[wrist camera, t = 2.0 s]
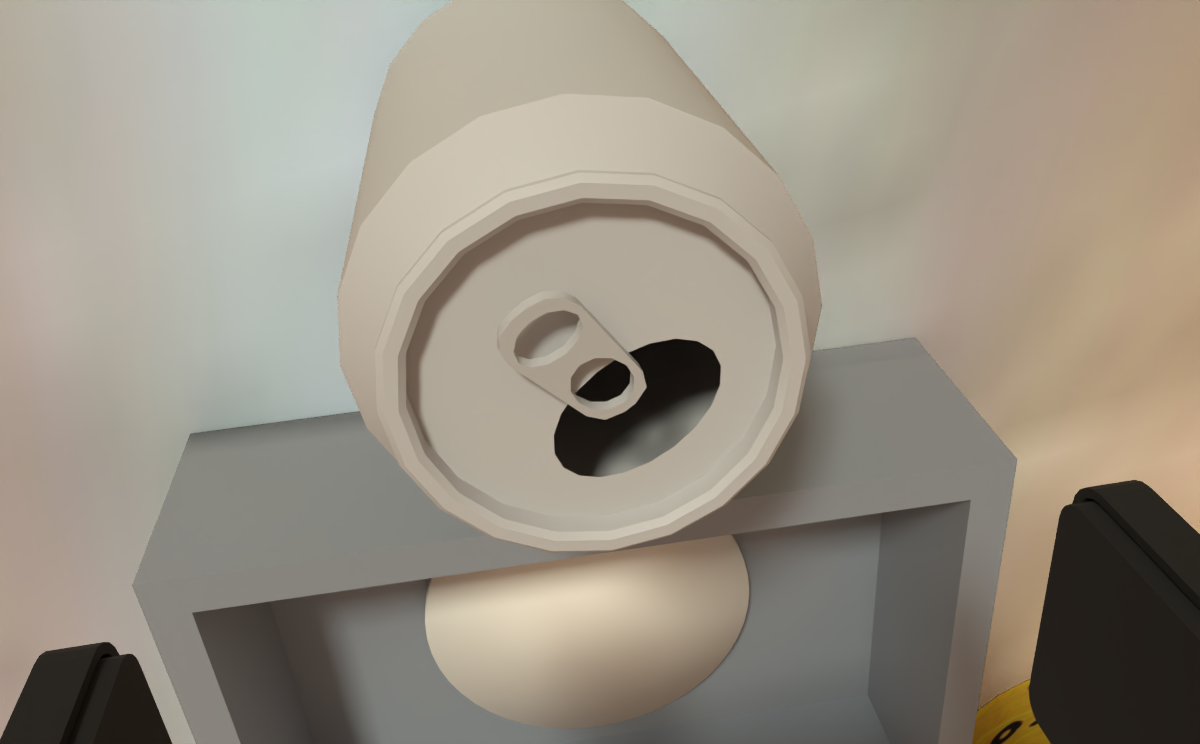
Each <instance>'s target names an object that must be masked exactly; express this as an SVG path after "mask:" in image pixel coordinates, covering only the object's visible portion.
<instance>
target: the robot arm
mask: <svg viewBox="0 0 1200 744" xmlns="http://www.w3.org/2000/svg"><path fill="white" fill-rule="evenodd" d="M1029 699H1030V704H1031V708H1032V712H1033V714H1034V717H1035V719H1036V721H1037V723H1038V725H1039V726H1040V728H1041V729H1042V731H1043V732H1044V734H1045V736H1046V737H1047V739H1048V740H1049V742H1050V743H1051V744H1200V534H1199V533H1198V532H1197V531H1196V530H1195V529H1193V528H1192V527H1191V526H1190V525H1189V524H1188V523H1187V522H1186V521H1185V520H1184V519H1183V518H1182V517H1181V516H1180V515H1179V514H1178V513H1177V512H1176V511H1175V510H1174V509H1172V508H1171V507H1170V506H1169V505H1168V504H1167V503H1166V502H1165V501H1164V500H1163V499H1162V498H1161V497H1160V496H1159V495H1158V494H1157V493H1156V492H1155V491H1154V490H1153V489H1152V488H1150V487H1149V486H1148V485H1146V484H1145V483H1143V482H1141V481H1137V480H1131V481H1125V482H1119V483H1112V484H1106V485H1100V486H1093V487H1087V488H1084V489H1080V490H1079V491H1078V493H1077V494H1076V495H1075V497H1074V500H1073V503H1072V504H1070V505H1067V506H1065V507H1064V508H1063V509H1062V511H1061V514H1060V517H1059V522H1058V528H1057V533H1056V539H1055V545H1054V550H1053V556H1052V561H1051V567H1050V573H1049V578H1048V584H1047V590H1046V595H1045V601H1044V606H1043V612H1042V618H1041V623H1040V629H1039V634H1038V640H1037V646H1036V651H1035V657H1034V662H1033V668H1032V674H1031V679H1030V685H1029ZM0 744H172V742H171V740H170V737H169V735H168V732H167V730H166V727H165V725H164V723H163V720H162V718H161V715H160V713H159V710H158V708H157V705H156V703H155V701H154V698H153V696H152V693H151V691H150V688H149V686H148V683H147V681H146V679H145V676H144V674H143V671H142V669H141V666H140V664H139V662H138V660H137V658H136V657H135V656H134V655H133V654H125V655H119V653H118V652H117V650H116V648H115V647H114V646H113V645H112V644H111V643H109V642H102V643H96V644H90V645H83V646H77V647H70V648H64V649H58V650H51V651H46V652H44V653H43V654H41V655H40V656H39V658H38V659H37V661H36V662H35V664H34V666H33V668H32V670H31V673H30V675H29V677H28V679H27V682H26V684H25V686H24V688H23V690H22V693H21V695H20V697H19V699H18V701H17V704H16V706H15V708H14V710H13V713H12V715H11V717H10V719H9V721H8V724H7V726H6V728H5V730H4V732H3V735H2V737H1V739H0Z"/></svg>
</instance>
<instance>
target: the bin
mask: <svg viewBox="0 0 1200 744" xmlns="http://www.w3.org/2000/svg"><path fill="white" fill-rule="evenodd" d="M1016 464H1017V458H1016V457H1015V456H1014V455H1013V454H1012V452H1011V451H1010V450H1009V449H1008V448H1007V446H1006V445H1005V444H1004V443H1003V442H1002V440H1001V439H1000V438H999V437H998V436H997V434H996V433H995V432H994V431H993V430H992V429H991V427H990V426H989V425H988V424H987V423H986V421H985V420H984V419H983V418H982V417H981V415H980V414H979V413H978V412H977V411H976V409H975V408H974V407H973V406H972V405H971V403H970V402H969V401H968V400H967V399H966V397H965V396H964V395H963V394H962V393H961V391H960V390H959V389H958V388H957V387H956V386H955V384H954V383H953V382H952V381H951V380H950V378H949V377H948V376H947V375H946V374H945V372H944V371H943V370H942V369H941V368H940V366H939V365H938V364H937V363H936V362H935V360H934V359H933V358H932V357H931V356H930V354H929V353H928V352H927V351H926V350H925V348H924V347H923V346H922V345H921V344H920V343H919V341H918V340H917V339H916V338H910V339H903V340H895V341H887V342H880V343H872V344H865V345H857V346H850V347H842V348H835V349H827V350H819V351H812V355H811V359H810V364H809V369H808V372H807V376H806V380H805V385H804V390H803V395H802V400H801V404H800V409H799V413H798V414H797V416H796V418H795V420H794V421H793V423H792V425H791V426H790V428H789V430H788V432H787V433H786V435H785V437H784V439H783V440H782V442H781V444H780V446H779V447H778V449H777V451H776V452H775V454H774V456H773V458H772V459H771V461H770V463H769V464H768V465H767V466H766V467H765V468H764V469H763V470H762V471H761V472H760V473H759V474H758V475H757V476H755V477H754V478H753V479H752V480H751V481H750V482H749V483H748V484H747V485H746V486H745V487H744V488H743V489H742V490H741V491H740V492H739V493H738V494H737V495H736V496H735V497H734V498H733V499H732V500H730V501H729V502H728V503H727V504H726V505H725V506H723V507H721V508H720V509H718V510H716V511H714V512H712V513H711V514H709V515H707V516H705V517H703V518H702V519H700V520H698V521H696V522H694V523H693V524H691V525H689V526H687V527H685V528H684V529H682V530H680V531H678V532H676V533H675V534H673V535H670V536H667V537H663V538H659V539H655V540H652V541H648V542H644V543H641V544H637V545H633V546H629V547H626V548H622V549H618V550H615V551H598V552H546V551H542V550H538V549H534V548H530V547H526V546H522V545H517V544H513V543H509V542H505V541H501V540H497V539H493V538H490V537H488V536H486V535H485V534H483V533H481V532H479V531H478V530H476V529H474V528H472V527H471V526H469V525H467V524H465V523H463V522H462V521H460V520H458V519H456V518H455V517H453V516H451V515H449V514H448V513H446V512H444V511H442V510H441V509H439V508H438V507H437V506H436V505H435V504H434V503H433V501H432V500H431V499H430V498H429V497H428V496H427V495H426V494H425V493H424V492H423V491H422V489H421V488H420V487H419V486H418V485H417V484H416V483H415V482H414V481H413V480H412V479H411V477H410V476H409V475H408V474H407V473H406V472H405V471H404V470H403V469H402V468H401V467H400V465H399V463H398V461H397V460H396V459H395V458H394V457H393V456H392V455H391V454H390V453H389V452H388V450H387V449H386V448H385V447H384V446H383V445H382V444H381V443H380V442H379V441H378V440H377V438H376V437H375V436H374V435H373V434H372V433H371V432H370V431H369V430H368V429H367V427H366V424H365V422H364V420H363V417H362V415H361V413H360V411H359V412H351V413H344V414H336V415H329V416H321V417H314V418H306V419H298V420H291V421H283V422H276V423H268V424H261V425H253V426H246V427H238V428H230V429H223V430H215V431H208V432H200V433H193V434H190V436H189V439H188V441H187V444H186V447H185V449H184V452H183V454H182V457H181V460H180V462H179V465H178V467H177V470H176V473H175V475H174V478H173V480H172V483H171V486H170V488H169V491H168V494H167V496H166V499H165V501H164V504H163V507H162V509H161V512H160V514H159V517H158V520H157V522H156V525H155V527H154V530H153V533H152V535H151V538H150V540H149V543H148V546H147V548H146V551H145V553H144V556H143V559H142V561H141V564H140V567H139V569H138V572H137V574H136V577H135V580H134V582H133V585H132V586H133V589H134V591H135V593H136V596H137V598H138V601H139V603H140V606H141V608H142V611H143V613H144V616H145V618H146V621H147V623H148V626H149V628H150V631H151V633H152V636H153V638H154V640H155V643H156V645H157V648H158V650H159V653H160V655H161V658H162V660H163V663H164V665H165V668H166V670H167V673H168V675H169V678H170V680H171V683H172V685H173V687H174V690H175V692H176V695H177V697H178V700H179V702H180V705H181V707H182V710H183V712H184V715H185V717H186V720H187V722H188V725H189V727H190V730H191V732H192V734H193V737H194V739H195V742H196V744H972V741H973V735H974V728H975V722H976V716H977V710H978V703H979V697H980V691H981V684H982V678H983V672H984V666H985V659H986V653H987V647H988V640H989V634H990V628H991V621H992V615H993V609H994V603H995V596H996V590H997V584H998V577H999V571H1000V565H1001V559H1002V552H1003V546H1004V540H1005V533H1006V527H1007V521H1008V514H1009V508H1010V502H1011V496H1012V489H1013V483H1014V477H1015V470H1016Z"/></svg>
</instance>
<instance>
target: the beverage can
mask: <svg viewBox="0 0 1200 744" xmlns="http://www.w3.org/2000/svg"><path fill="white" fill-rule="evenodd" d="M1029 685H1030V680H1027V681H1025V682H1023V683H1021V684H1019V685H1017V686H1015V687H1013V688H1012V689H1010V690H1008V691H1006V692H1004V693H1002V694H1000V695H998V696H997V697H995V698H994V699H993V700H991V701H990V702H989V703H988V704H986V705H985V706H984V707H982V708H981V709H980V710H978V711H977V716H976V722H975V728H974V735H973V741H972V744H1051V743H1050V742H1049V740H1048V739H1047V737H1046V736H1045V734H1044V732H1043V731H1042V729H1041V728H1040V726H1039V725H1038V723H1037V721H1036V719H1035V717H1034V714H1033V712H1032V708H1031V704H1030V699H1029Z"/></svg>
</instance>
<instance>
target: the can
mask: <svg viewBox="0 0 1200 744" xmlns="http://www.w3.org/2000/svg"><path fill="white" fill-rule="evenodd" d="M337 297H338V319H339V341H340V363H341V368H342V371H343V373H344V375H345V378H346V380H347V382H348V385H349V387H350V389H351V392H352V394H353V396H354V399H355V401H356V403H357V406H358V408H359V410H360V413H361V415H362V417H363V420H364V422H365V424H366V427H367V429H368V430H369V431H370V432H371V433H372V434H373V435H374V436H375V437H376V438H377V440H378V441H379V442H380V443H381V444H382V445H383V446H384V447H385V448H386V449H387V450H388V452H389V453H390V454H391V455H392V456H393V457H394V458H395V459H396V460H397V461H398V463H399V465H400V467H401V468H402V469H403V470H404V471H405V472H406V473H407V474H408V475H409V476H410V477H411V479H412V480H413V481H414V482H415V483H416V484H417V485H418V486H419V487H420V488H421V489H422V491H423V492H424V493H425V494H426V495H427V496H428V497H429V498H430V499H431V500H432V501H433V503H434V504H435V505H436V506H437V507H438V508H439V509H441V510H442V511H444V512H446V513H448V514H449V515H451V516H453V517H455V518H456V519H458V520H460V521H462V522H463V523H465V524H467V525H469V526H471V527H472V528H474V529H476V530H478V531H479V532H481V533H483V534H485V535H486V536H488V537H490V538H493V539H497V540H501V541H505V542H509V543H513V544H517V545H522V546H526V547H530V548H534V549H538V550H542V551H546V552H598V551H615V550H618V549H622V548H626V547H629V546H633V545H637V544H641V543H644V542H648V541H652V540H655V539H659V538H663V537H667V536H670V535H673V534H675V533H676V532H678V531H680V530H682V529H684V528H685V527H687V526H689V525H691V524H693V523H694V522H696V521H698V520H700V519H702V518H703V517H705V516H707V515H709V514H711V513H712V512H714V511H716V510H718V509H720V508H721V507H723V506H725V505H726V504H727V503H728V502H729V501H730V500H732V499H733V498H734V497H735V496H736V495H737V494H738V493H739V492H740V491H741V490H742V489H743V488H744V487H745V486H746V485H747V484H748V483H749V482H750V481H751V480H752V479H753V478H754V477H755V476H757V475H758V474H759V473H760V472H761V471H762V470H763V469H764V468H765V467H766V466H767V465H768V464H769V463H770V461H771V459H772V458H773V456H774V454H775V452H776V451H777V449H778V447H779V446H780V444H781V442H782V440H783V439H784V437H785V435H786V433H787V432H788V430H789V428H790V426H791V425H792V423H793V421H794V420H795V418H796V416H797V414H798V413H799V409H800V404H801V400H802V395H803V390H804V385H805V380H806V376H807V372H808V369H809V364H810V359H811V355H812V350H813V345H814V340H815V336H816V331H817V326H818V321H819V317H820V312H821V307H822V303H821V296H820V288H819V281H818V273H817V266H816V258H815V251H814V243H813V238H812V236H811V234H810V232H809V231H808V229H807V227H806V225H805V223H804V221H803V219H802V218H801V216H800V214H799V212H798V210H797V208H796V206H795V204H794V203H793V201H792V199H791V197H790V195H789V193H788V191H787V190H786V188H785V186H784V184H783V182H782V180H781V178H780V177H779V175H778V174H777V173H776V172H775V171H774V169H773V168H772V167H771V166H770V165H769V163H768V162H767V161H766V160H765V159H764V157H763V156H762V155H761V154H760V153H759V151H758V150H757V149H756V148H755V147H754V145H753V144H752V143H751V142H750V141H749V139H748V138H747V137H746V136H745V134H744V133H743V132H742V131H741V130H740V128H739V127H738V126H737V125H736V124H735V122H734V121H733V120H732V119H731V118H730V116H729V115H728V114H727V113H726V112H725V110H724V109H723V108H722V107H721V106H720V104H719V103H718V102H717V101H716V100H715V98H714V97H713V96H712V95H711V94H710V92H709V91H708V90H707V89H706V88H705V86H704V85H703V84H702V83H701V82H700V80H699V79H698V78H697V77H696V75H695V74H694V73H693V72H692V71H691V69H690V68H689V67H688V66H687V65H686V63H685V62H684V61H683V60H682V59H681V57H680V56H679V55H678V54H677V53H676V51H675V50H674V49H673V48H672V47H671V45H670V44H669V43H668V42H667V41H666V39H665V38H664V37H663V36H662V35H661V34H660V33H659V32H658V31H657V30H656V29H654V28H653V27H652V26H651V25H650V24H649V23H648V22H647V21H645V20H644V19H643V18H642V17H641V16H640V15H639V14H638V13H637V12H635V11H634V10H633V9H632V8H631V7H630V6H629V5H628V4H627V3H625V2H624V1H623V0H453V1H451V2H450V3H448V4H447V5H446V6H444V7H443V8H441V9H440V10H438V11H437V12H435V13H434V14H432V15H431V16H429V17H428V18H426V19H425V20H424V21H422V22H421V24H420V25H419V26H418V28H417V29H416V30H415V32H414V33H413V34H412V36H411V37H410V38H409V40H408V41H407V42H406V44H405V45H404V46H403V48H402V49H401V50H400V52H399V53H398V54H397V56H396V57H395V59H394V60H393V61H392V63H391V64H390V66H389V70H388V73H387V76H386V79H385V82H384V85H383V89H382V92H381V95H380V98H379V101H378V104H377V107H376V111H375V114H374V119H373V124H372V128H371V133H370V138H369V143H368V148H367V153H366V158H365V163H364V168H363V173H362V178H361V183H360V188H359V193H358V198H357V202H356V207H355V212H354V217H353V222H352V227H351V232H350V237H349V242H348V247H347V252H346V257H345V262H344V267H343V272H342V276H341V281H340V286H339V291H338V296H337Z"/></svg>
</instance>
